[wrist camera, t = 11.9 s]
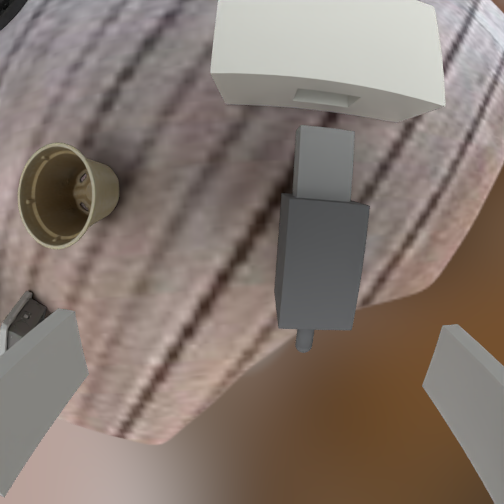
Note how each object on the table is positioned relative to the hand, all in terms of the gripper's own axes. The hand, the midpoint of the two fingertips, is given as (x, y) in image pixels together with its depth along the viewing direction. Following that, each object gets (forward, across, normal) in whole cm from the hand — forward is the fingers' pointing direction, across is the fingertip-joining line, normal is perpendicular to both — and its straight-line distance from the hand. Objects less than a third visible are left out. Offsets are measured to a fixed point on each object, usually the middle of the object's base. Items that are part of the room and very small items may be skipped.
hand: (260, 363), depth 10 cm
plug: (+22, +5, 0) cm, 22 cm away
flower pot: (+23, -18, +4) cm, 30 cm away
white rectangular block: (+23, +5, +18) cm, 29 cm away
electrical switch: (+23, -30, -14) cm, 40 cm away
